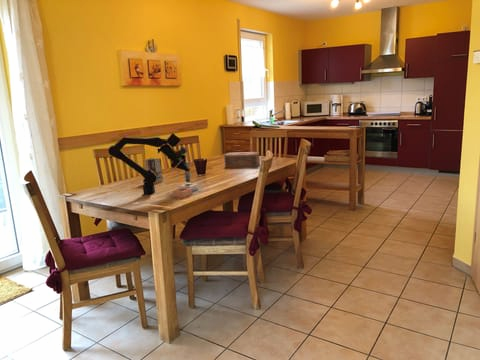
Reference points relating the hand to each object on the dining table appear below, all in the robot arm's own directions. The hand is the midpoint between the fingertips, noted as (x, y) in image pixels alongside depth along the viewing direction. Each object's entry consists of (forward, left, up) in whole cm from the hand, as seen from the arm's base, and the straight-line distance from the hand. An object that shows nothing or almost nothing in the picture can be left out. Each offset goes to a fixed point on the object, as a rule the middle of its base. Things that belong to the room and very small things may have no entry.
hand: (189, 170), depth 232 cm
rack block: (-12, -3, -12) cm, 17 cm away
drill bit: (-1, +1, -7) cm, 7 cm away
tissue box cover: (+86, +12, -14) cm, 88 cm away
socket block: (-1, +1, -12) cm, 12 cm away
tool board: (-7, -1, -13) cm, 15 cm away
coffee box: (+15, +42, -14) cm, 47 cm away
